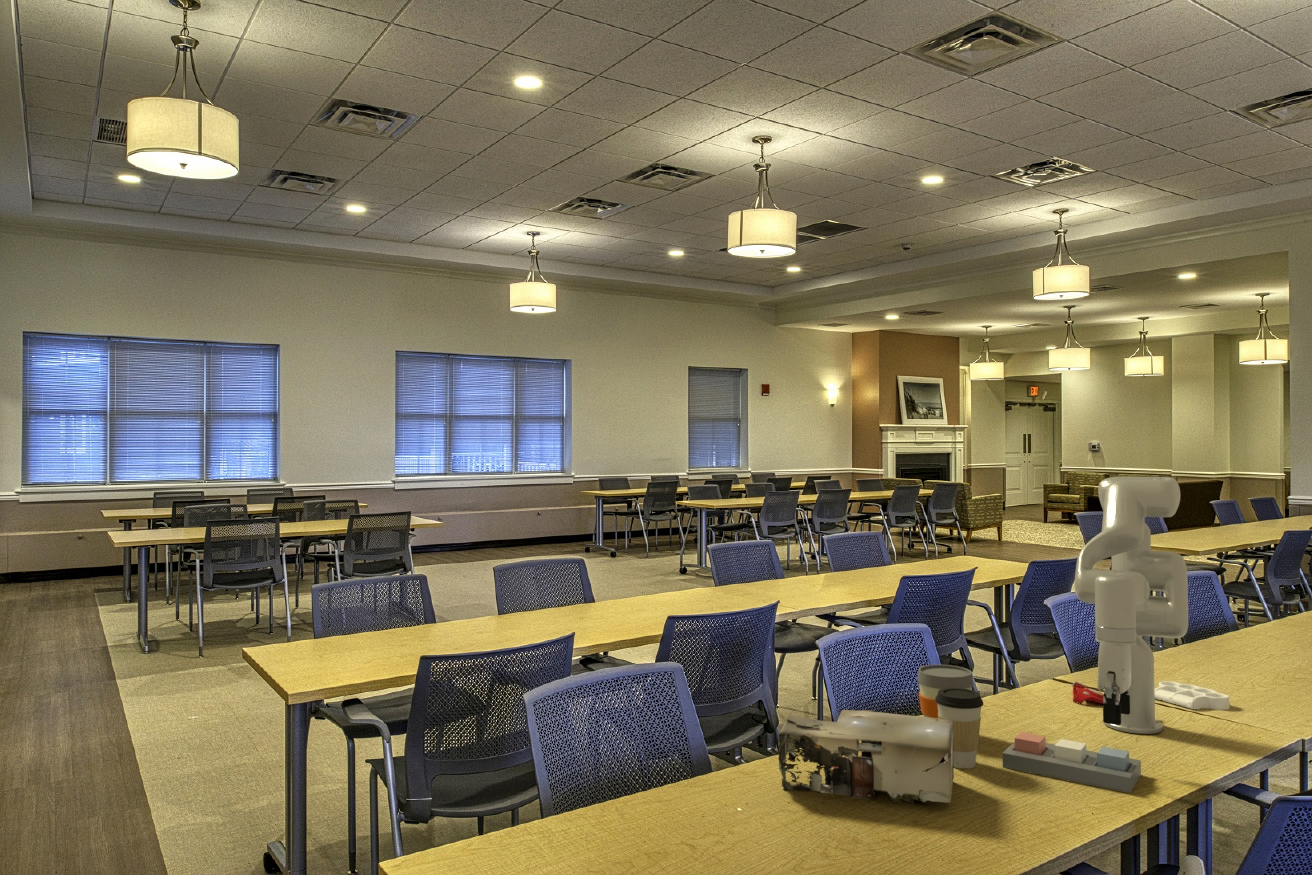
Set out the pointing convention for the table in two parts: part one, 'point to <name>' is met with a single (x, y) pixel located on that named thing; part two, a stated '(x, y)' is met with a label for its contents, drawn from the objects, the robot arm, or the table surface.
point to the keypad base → (1073, 768)
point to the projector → (872, 755)
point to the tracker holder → (1085, 694)
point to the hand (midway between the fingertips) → (1116, 718)
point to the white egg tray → (1191, 696)
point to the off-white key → (1070, 751)
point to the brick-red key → (1030, 743)
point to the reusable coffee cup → (940, 684)
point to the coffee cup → (961, 722)
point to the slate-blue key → (1113, 759)
